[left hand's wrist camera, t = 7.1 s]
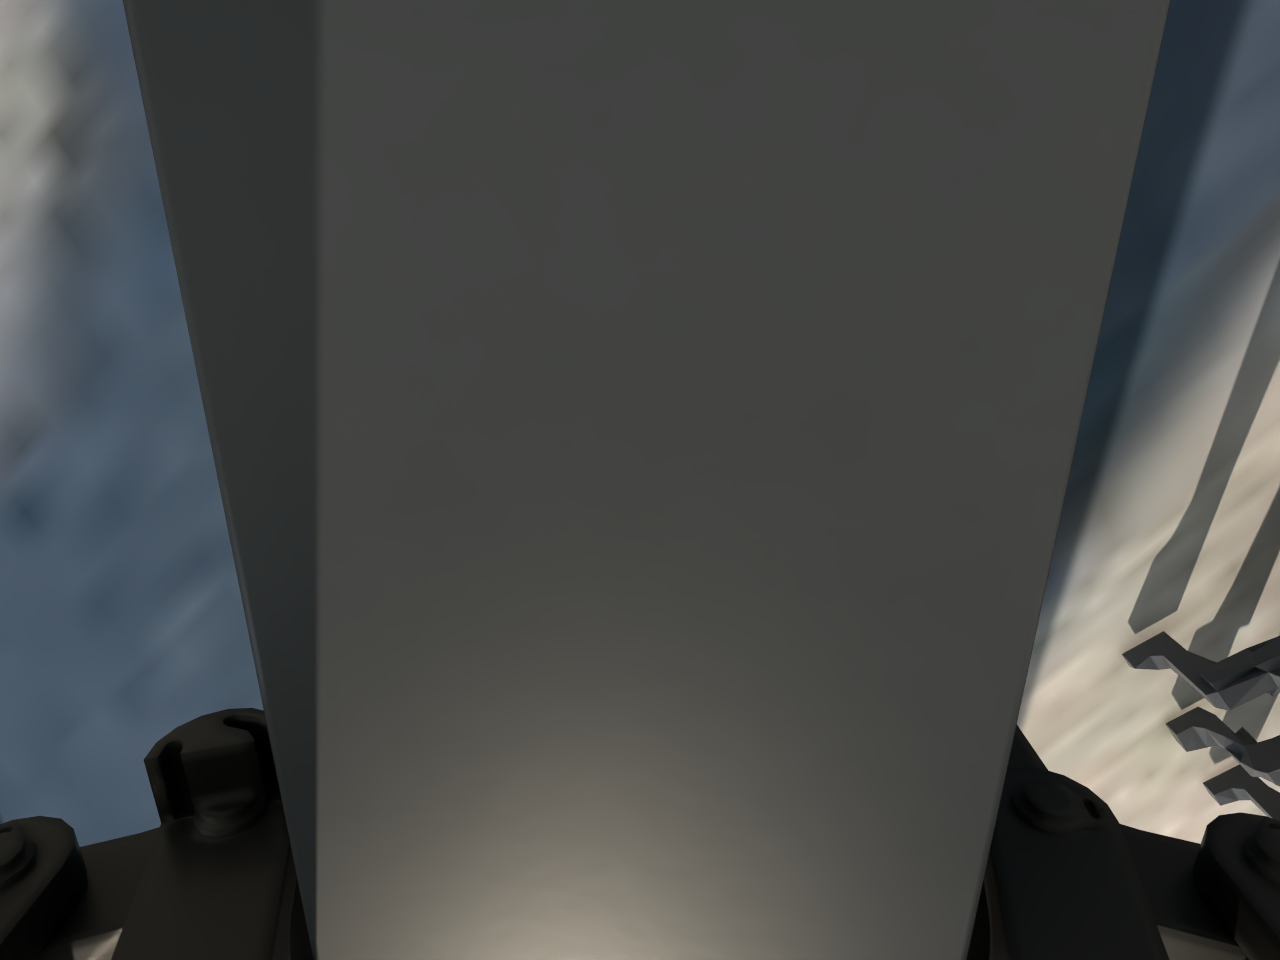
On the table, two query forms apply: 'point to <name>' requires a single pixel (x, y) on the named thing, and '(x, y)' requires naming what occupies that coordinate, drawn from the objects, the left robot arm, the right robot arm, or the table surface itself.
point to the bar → (643, 442)
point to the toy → (1225, 688)
